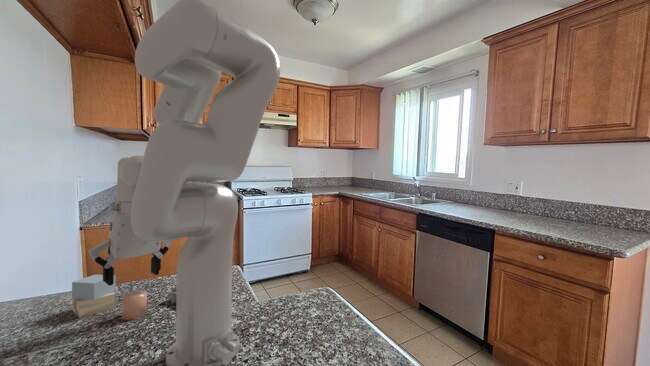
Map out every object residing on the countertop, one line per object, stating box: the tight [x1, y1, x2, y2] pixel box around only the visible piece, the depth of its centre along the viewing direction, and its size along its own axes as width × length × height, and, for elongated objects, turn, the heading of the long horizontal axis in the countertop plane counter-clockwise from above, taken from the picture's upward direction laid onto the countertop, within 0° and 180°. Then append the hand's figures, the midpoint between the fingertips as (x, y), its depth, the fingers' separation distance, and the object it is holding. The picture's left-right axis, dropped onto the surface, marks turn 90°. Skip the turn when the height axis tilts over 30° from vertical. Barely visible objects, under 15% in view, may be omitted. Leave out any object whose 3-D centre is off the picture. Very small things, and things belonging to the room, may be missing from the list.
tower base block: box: [71, 291, 116, 319], centre depth 70 cm, size 7×7×4 cm
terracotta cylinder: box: [121, 290, 148, 321], centre depth 67 cm, size 5×5×5 cm
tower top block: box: [71, 274, 117, 300], centre depth 70 cm, size 6×6×4 cm
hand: (133, 278), depth 68 cm, fingers open, 9 cm apart
